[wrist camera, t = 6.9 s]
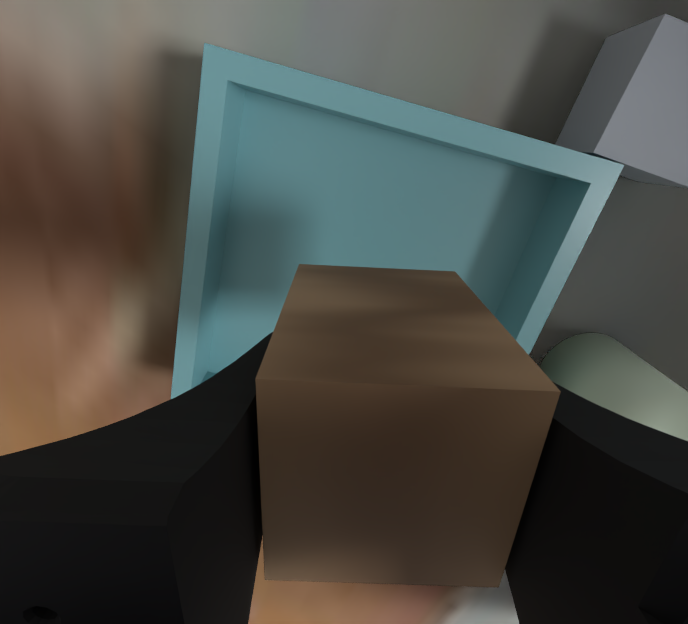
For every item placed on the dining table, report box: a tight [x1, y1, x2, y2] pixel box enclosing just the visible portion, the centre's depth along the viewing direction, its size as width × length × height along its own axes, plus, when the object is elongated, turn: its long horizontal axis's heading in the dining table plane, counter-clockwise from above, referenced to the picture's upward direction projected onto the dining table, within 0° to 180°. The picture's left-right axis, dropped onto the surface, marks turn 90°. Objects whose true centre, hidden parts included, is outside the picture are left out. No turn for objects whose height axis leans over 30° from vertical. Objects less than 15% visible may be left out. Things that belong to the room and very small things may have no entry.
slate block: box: [555, 13, 688, 188], centre depth 14 cm, size 4×4×3 cm
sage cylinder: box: [540, 333, 688, 441], centre depth 18 cm, size 4×4×5 cm
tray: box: [171, 43, 624, 399], centre depth 16 cm, size 14×14×3 cm
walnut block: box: [255, 264, 561, 587], centre depth 9 cm, size 4×4×6 cm
